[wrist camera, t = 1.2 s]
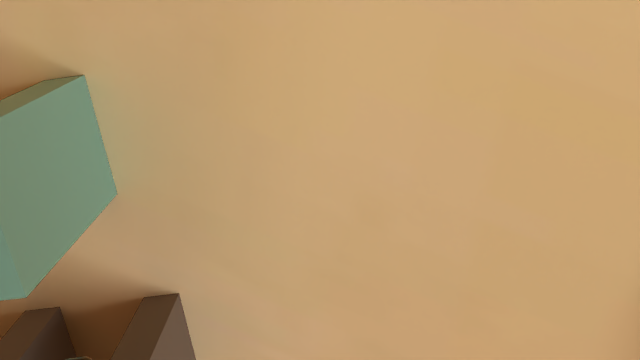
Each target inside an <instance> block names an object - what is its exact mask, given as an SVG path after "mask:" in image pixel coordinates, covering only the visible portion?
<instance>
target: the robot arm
mask: <svg viewBox="0 0 640 360" xmlns="http://www.w3.org/2000/svg"><path fill="white" fill-rule="evenodd" d="M65 360H92V359H91V358H90V357H86V356H85V357H77V358H69V359H65Z"/></svg>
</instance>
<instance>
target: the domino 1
mask: <svg viewBox="0 0 640 360" xmlns="http://www.w3.org/2000/svg"><path fill="white" fill-rule="evenodd" d="M116 195H117V191H116V187H115V183H114V180H113V176H112V173H111V169H110V165H109V162H108V158H107V155H106V151H105V148H104V144H103V140H102V137H101V133H100V130H99V126H98V122H97V119H96V115H95V112H94V108H93V104H92V101H91V97H90V94H89V90H88V86H87V83H86V79H85V76H84V75H80V76H73V77H66V78H59V79H51V80H44V81H42V82H40V83H38V84H36V85H33V86H31V87H29V88H27V89H25V90H22V91H20V92H18V93H16V94H14V95H11V96H9V97H7V98H5V99H2V100H0V301H2V300H10V299H19V298H27V296H28V295H29V294H30V293H31V292H32V291H33V290H34V288H35V287H36V286H37V285H38V284H39V283H40V282H41V280H42V279H43V278H44V277H45V276H46V275H47V274H48V272H49V271H50V270H51V269H52V268H53V267H54V266H55V264H56V263H57V262H58V261H59V260H60V259H61V258H62V257H63V255H64V254H65V253H66V252H67V251H68V250H69V249H70V247H71V246H72V245H73V244H74V243H75V242H76V241H77V239H78V238H79V237H80V236H81V235H82V234H83V233H84V231H85V230H86V229H87V228H88V227H89V226H90V225H91V223H92V222H93V221H94V220H95V219H96V218H97V217H98V215H99V214H100V213H101V212H102V211H103V210H104V209H105V207H106V206H107V205H108V204H109V203H110V202H111V201H112V199H113V198H114V197H115V196H116Z"/></svg>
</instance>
